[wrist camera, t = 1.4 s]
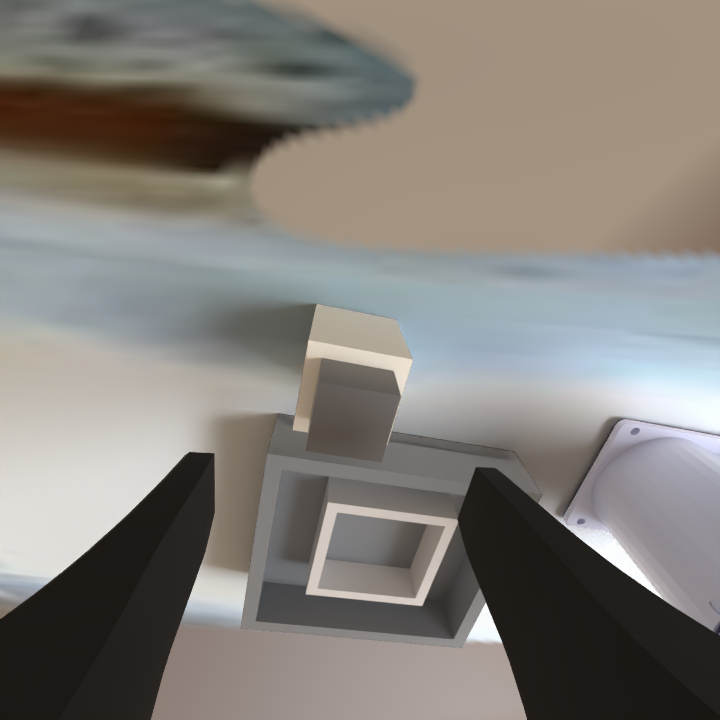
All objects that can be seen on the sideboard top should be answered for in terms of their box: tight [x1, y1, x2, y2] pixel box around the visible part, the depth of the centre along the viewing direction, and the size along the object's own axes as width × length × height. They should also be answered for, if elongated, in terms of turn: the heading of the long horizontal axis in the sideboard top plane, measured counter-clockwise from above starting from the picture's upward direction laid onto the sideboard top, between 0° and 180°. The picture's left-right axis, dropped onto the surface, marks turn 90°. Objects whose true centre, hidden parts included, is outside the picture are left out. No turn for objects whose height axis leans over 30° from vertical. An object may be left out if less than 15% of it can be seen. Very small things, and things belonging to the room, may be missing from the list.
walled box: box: [241, 414, 542, 648], centre depth 23 cm, size 14×13×4 cm
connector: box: [293, 304, 413, 463], centre depth 16 cm, size 4×4×7 cm
